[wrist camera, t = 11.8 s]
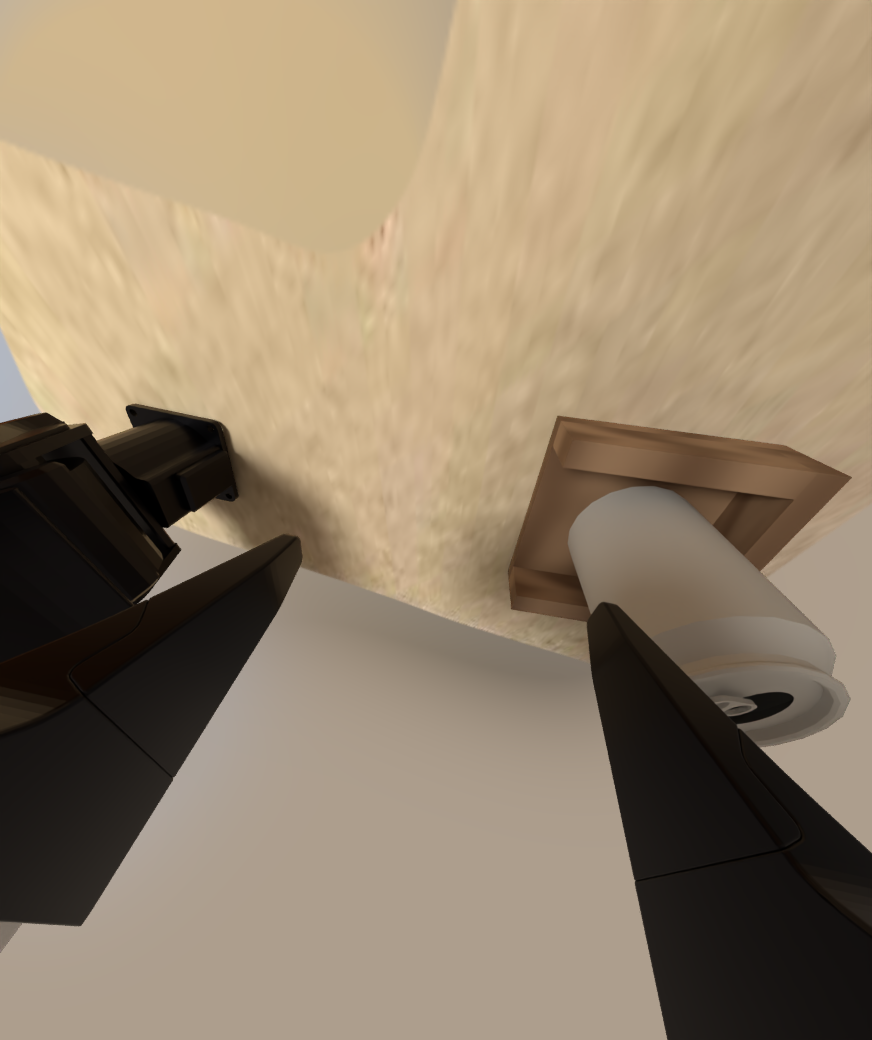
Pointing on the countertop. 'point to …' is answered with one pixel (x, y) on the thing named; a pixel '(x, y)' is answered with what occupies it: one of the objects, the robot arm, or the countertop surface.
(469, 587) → the countertop surface
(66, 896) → the robot arm
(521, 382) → the countertop surface
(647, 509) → the can
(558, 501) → the brown wooden square tray
